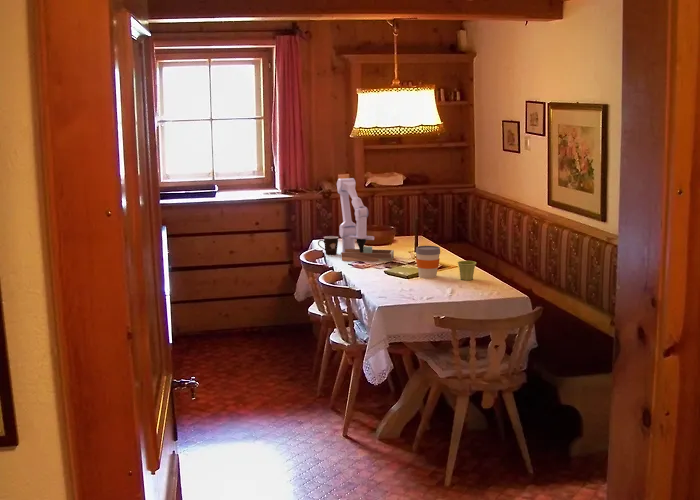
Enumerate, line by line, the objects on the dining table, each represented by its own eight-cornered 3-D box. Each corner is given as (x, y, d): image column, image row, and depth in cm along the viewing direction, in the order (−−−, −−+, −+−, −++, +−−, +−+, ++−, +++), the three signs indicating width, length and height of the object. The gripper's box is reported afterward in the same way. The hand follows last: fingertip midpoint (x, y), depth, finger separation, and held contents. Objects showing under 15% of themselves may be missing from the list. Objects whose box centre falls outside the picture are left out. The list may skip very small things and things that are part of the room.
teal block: (364, 253, 490) (364, 246, 489) (372, 254, 489) (372, 246, 488) (363, 255, 486) (363, 247, 485) (371, 255, 485) (371, 247, 484)
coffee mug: (339, 252, 504) (339, 236, 503) (337, 255, 496) (337, 238, 494) (319, 252, 506) (319, 235, 504) (317, 255, 497) (317, 238, 495)
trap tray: (345, 256, 494) (345, 248, 493) (393, 257, 489) (393, 250, 488) (341, 260, 481) (341, 252, 480) (391, 261, 477) (391, 254, 476)
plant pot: (477, 281, 427) (478, 264, 426) (459, 281, 426) (459, 264, 425) (473, 277, 436) (474, 260, 435) (455, 277, 436) (455, 260, 434)
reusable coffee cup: (443, 278, 434) (444, 249, 432) (420, 279, 431) (421, 250, 428) (434, 273, 446) (434, 245, 443) (411, 274, 443) (412, 246, 440)
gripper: (347, 229, 483) (347, 253, 485) (373, 230, 480) (373, 253, 483) (349, 227, 489) (349, 250, 492) (374, 228, 487) (374, 251, 489)
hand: (361, 252), depth 488 cm, fingers closed
